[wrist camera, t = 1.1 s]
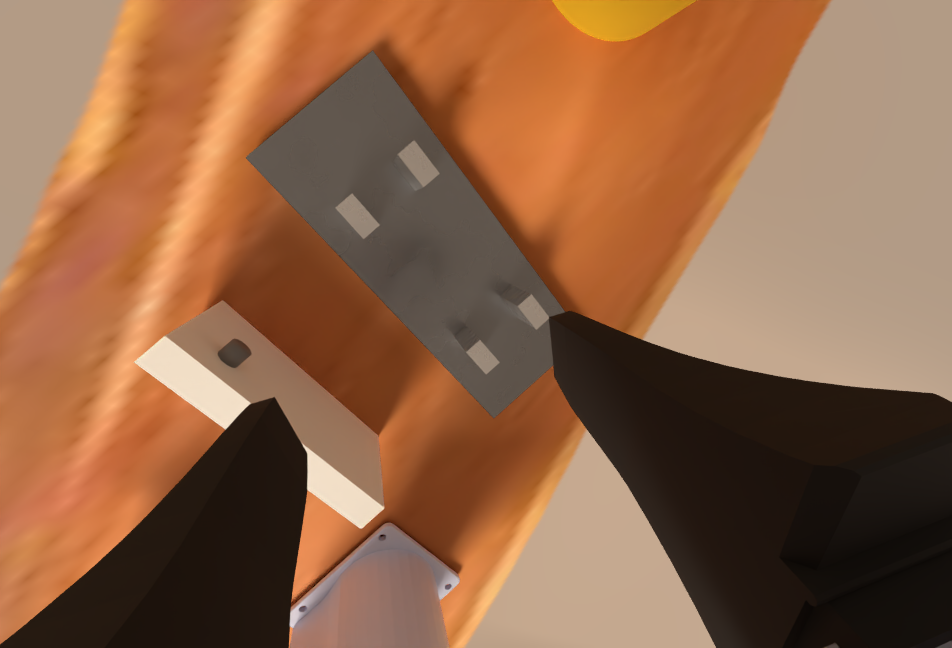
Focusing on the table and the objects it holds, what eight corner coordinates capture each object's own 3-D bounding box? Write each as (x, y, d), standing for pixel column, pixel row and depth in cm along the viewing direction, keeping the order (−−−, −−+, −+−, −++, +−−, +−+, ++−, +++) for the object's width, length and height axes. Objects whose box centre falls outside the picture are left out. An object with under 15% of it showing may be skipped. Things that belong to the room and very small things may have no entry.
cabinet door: (360, 450, 26) (361, 529, 20) (201, 318, 22) (133, 362, 15) (387, 426, 26) (396, 496, 20) (234, 290, 22) (181, 321, 15)
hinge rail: (488, 410, 28) (509, 442, 24) (251, 160, 20) (226, 147, 17) (575, 332, 28) (610, 351, 24) (371, 59, 21) (374, 22, 17)
